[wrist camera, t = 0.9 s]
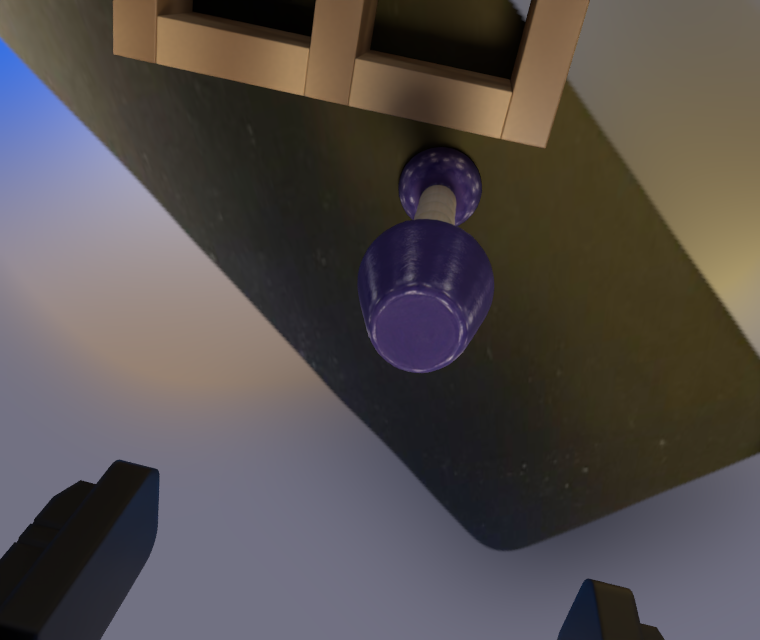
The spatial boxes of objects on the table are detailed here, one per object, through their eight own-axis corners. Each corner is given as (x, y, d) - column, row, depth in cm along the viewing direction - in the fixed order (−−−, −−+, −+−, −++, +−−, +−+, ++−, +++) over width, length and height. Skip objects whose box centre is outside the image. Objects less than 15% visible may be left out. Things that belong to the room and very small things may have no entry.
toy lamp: (424, 122, 33) (370, 235, 18) (509, 161, 33) (524, 304, 19) (386, 207, 35) (312, 369, 21) (466, 243, 36) (449, 429, 21)
